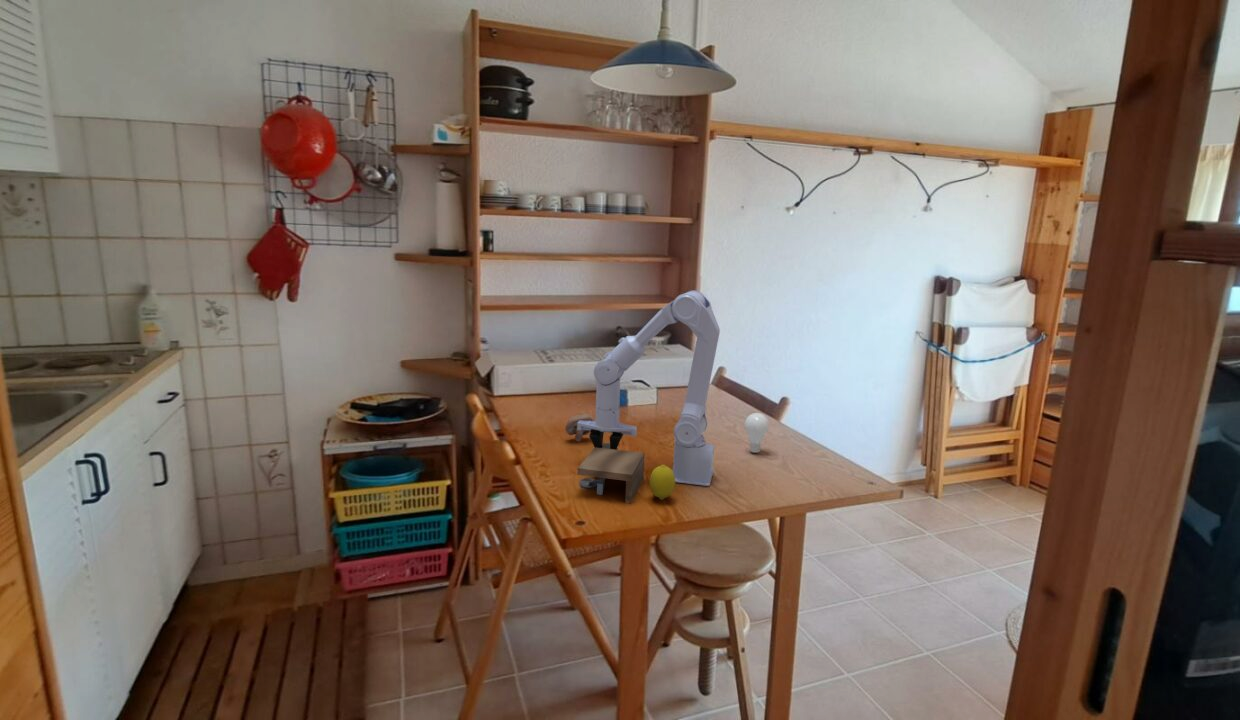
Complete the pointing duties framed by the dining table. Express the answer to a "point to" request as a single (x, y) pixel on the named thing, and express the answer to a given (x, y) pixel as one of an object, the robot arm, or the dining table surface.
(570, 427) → the mushroom
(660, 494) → the lemon
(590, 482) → the token
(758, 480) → the dining table surface
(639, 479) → the shelf
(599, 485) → the scraper
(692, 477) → the robot arm
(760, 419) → the lightbulb
